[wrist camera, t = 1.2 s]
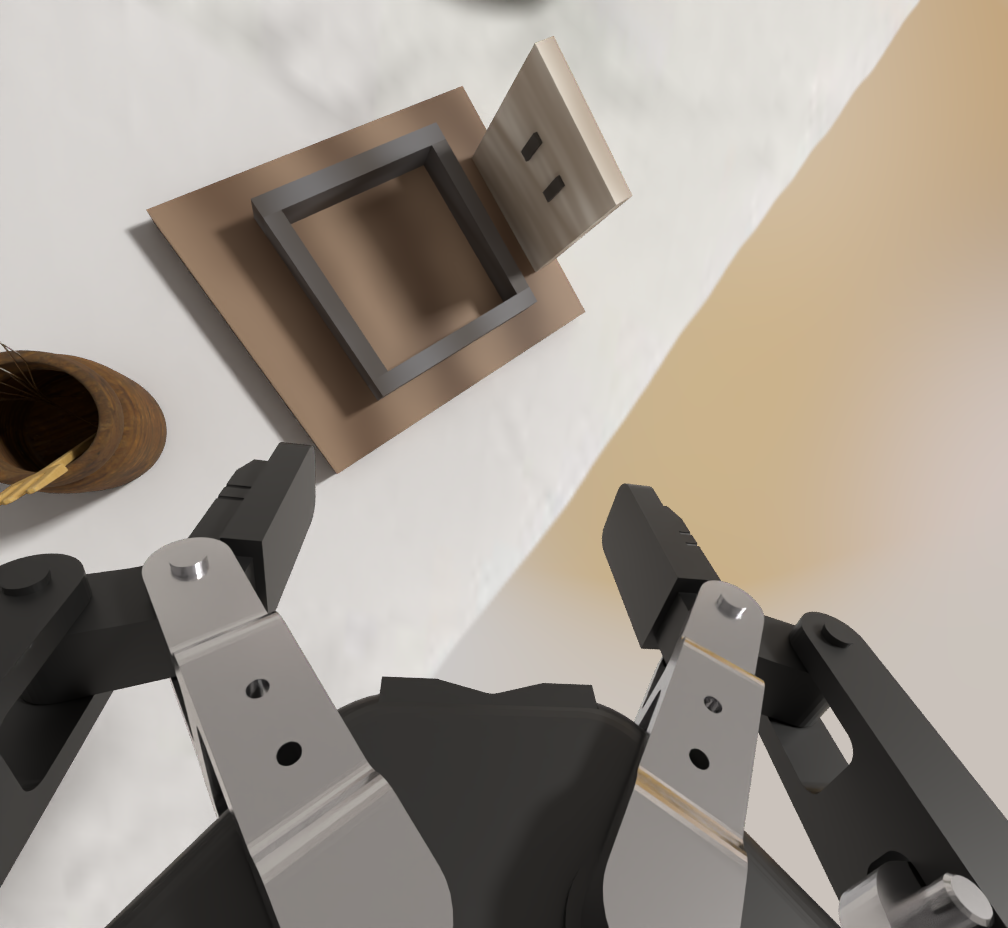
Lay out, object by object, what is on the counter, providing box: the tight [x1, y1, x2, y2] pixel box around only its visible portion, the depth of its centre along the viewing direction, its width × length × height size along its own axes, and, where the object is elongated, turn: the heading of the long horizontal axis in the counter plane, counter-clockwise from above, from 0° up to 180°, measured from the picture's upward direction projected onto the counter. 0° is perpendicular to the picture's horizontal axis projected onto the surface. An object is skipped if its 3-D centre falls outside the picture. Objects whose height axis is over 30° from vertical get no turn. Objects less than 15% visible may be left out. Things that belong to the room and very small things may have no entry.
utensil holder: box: [0, 342, 167, 505], centre depth 19 cm, size 6×6×12 cm
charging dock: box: [147, 36, 632, 474], centre depth 25 cm, size 20×16×10 cm
